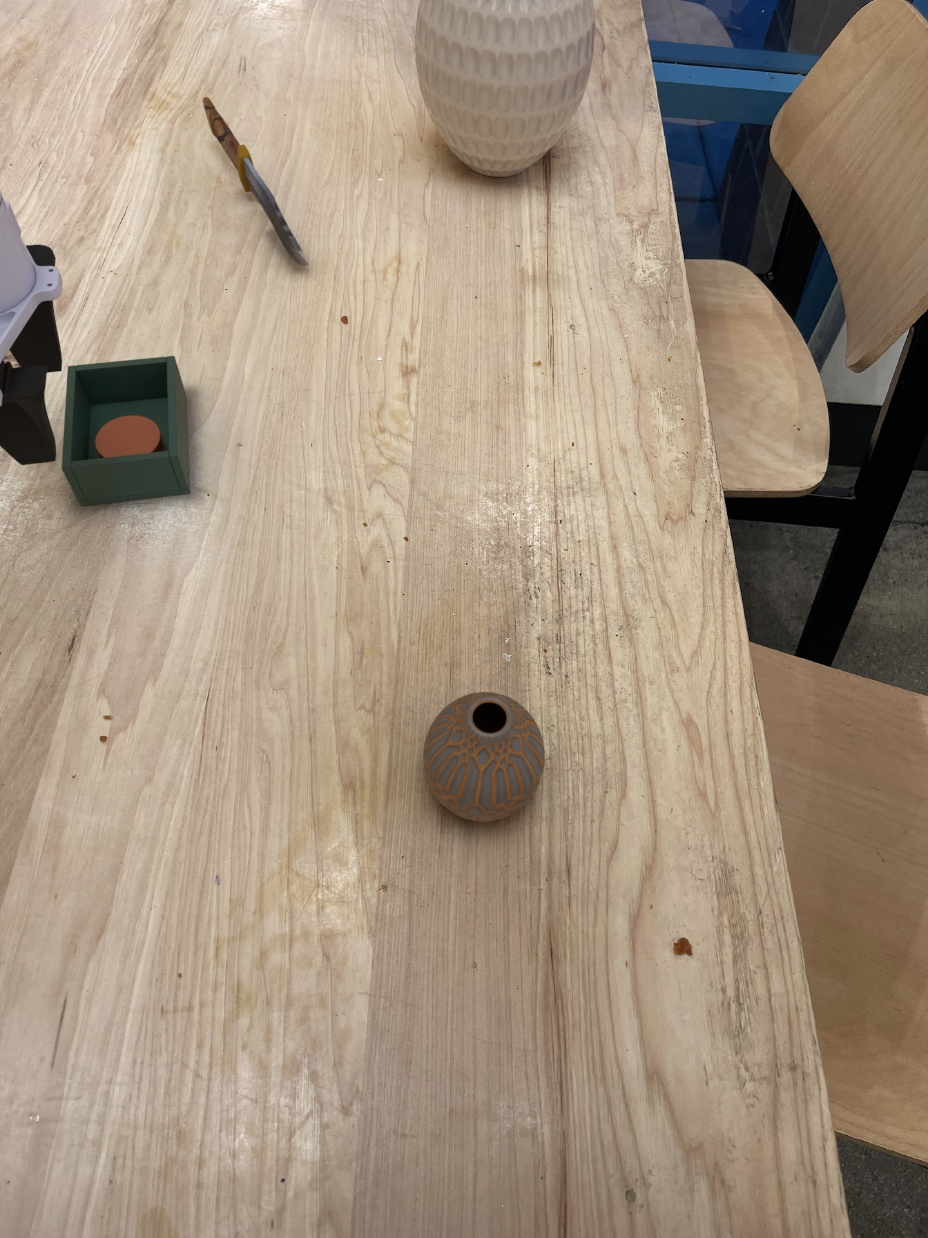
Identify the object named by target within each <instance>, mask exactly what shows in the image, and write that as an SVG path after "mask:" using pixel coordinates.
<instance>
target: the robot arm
mask: <svg viewBox="0 0 928 1238" xmlns="http://www.w3.org/2000/svg"><path fill="white" fill-rule="evenodd" d="M56 260H57V259H56V255H55V252H54V250H53V249H52V248H51V247H50V246H48V245H45V244H26V243H25V242H24V241H23V238H22V229H21V227H20V225H19V222H18V220H17V218H16V214H15V212H14V210H13V208H12V206H11V204H10V202H9V201H8V200H5V199H4V196H3V194H2V191H1V190H0V448H1V449H2V450H4V452H6V453H7V454H8V455H9V456H10V457H11V458H12V459H13V460H15V461H16V462H17V463H18V464H19V465H21V466H28V465H37V464H38V465H39V464H46V463H47V464H48V463H54V462H55V461H56V460H57V444H56V443H57V442H56V438H55V435H54V431H53V428H52V424H51V421H50V418H49V414H48V411H47V405H46V398H45V397H46V396H45V393H46V386H47V374H48V373H58V372H62V371H63V370H62V369H63V355H62V347H61V342H60V337H59V332H58V325H57V321H56V314H55V308H54V307H55V306H54V301H55V300H57V299H59V298H60V297H61V296H62V293H63V277H62V275H61V272H60V270H59V268H58V267H56ZM8 352H10V354H11V355H12V357H13V358H14V360H15V361H16V362H17V364H18V365H19V367H14V366H13V364H12V362H11V361H9V360H7V361H6V362H5V360H4V358H5V357H6V355H7V354H8Z"/></svg>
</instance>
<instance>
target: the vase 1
mask: <svg viewBox="0 0 928 1238" xmlns="http://www.w3.org/2000/svg"><path fill="white" fill-rule="evenodd" d="M595 14H596V13H595V4H594V0H419V3H418V8H417V14H416V22H415V23H416V24H415V35H414V50H415V51H414V52H415V53H414V55H415V59H414V60H415V66H416V71H417V79H418V85H419V90H420V93H421V96H422V99H423V102H424V106H425V108H426V111H427V114H428V115H429V117H430V119H431V122H432V123H433V125H434V127H435V128H436V130H437V132H438V134H439V135H440V137H441V138H442V140H443V141H444V142H445V144H446V145H447V147H448V148H449V150H450V151H451V152H452V153H453V154H454V155H455V157H457V158H458V159H459V160H460V161H461V162H462V163H463V164H465V166H467V167H468V169H470V170H472V171H473V172H475V173H478V174H480V175H484V176H487V177H493V178H494V177H495V178H505V177H510V176H514V175H517V174H520V173H522V172H523V171H525V170H527V169H528V168H530V167H531V166H532V165H533V164H535V163H536V162H538V161H539V160H541V158H543V157H544V156H545V155H546V154H547V153H548V152H549V151H550V149H551V148H552V147H553V146H554V145H555V144H556V143H557V142H558V141H559V140H560V138H561V137H562V135H563V133H565V131H566V130H567V129H568V127H569V126H570V124H571V123H572V121H573V119H574V117H575V115H576V113H577V111H578V109H579V107H580V105H581V103H582V101H583V99H584V96H585V92H586V89H587V85H588V83H589V79H590V75H591V71H592V65H593V59H594V54H595V47H596V45H595V42H596V15H595Z"/></svg>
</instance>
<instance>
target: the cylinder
mask: <svg viewBox="0 0 928 1238" xmlns="http://www.w3.org/2000/svg"><path fill="white" fill-rule="evenodd" d="M95 447H96V450H97V452H98V454H99V457H100V458H108V457H117V456H126V455H135V454H144V453H153V452H162V451H167V449H166V446H165V443H164V440H163V437H162V434H161V431H160V429H159V427H158V426H157V424H156V423H155V422H154V421H152V420H151V419H149V418H146V417H143V416H137V415H128V416H122V417H118V418H116V419H113V420H111V421H109V422H108V423H106V424H105V425H104V426H103V427H102V428H101V429H100V430H99V431H98V433H97V435H96V438H95Z"/></svg>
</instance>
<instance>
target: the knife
mask: <svg viewBox="0 0 928 1238" xmlns="http://www.w3.org/2000/svg"><path fill="white" fill-rule="evenodd" d="M202 105H203V109H204V113H205V116H206V119H207V123H208V127H209V130H210V131H211V134H212V135H213V136H214V137H215V139H216V140H217V141H218V143H219V144H220V146H221V147H222V149H223V151H224V152H225V154H226V155H227V157H228V159H229V160H230V162H231V163H232V165H233V166H234V167H235V169H236V170H237V174H238V177H239V181H240V183H241V185H242V187H243V190H244V192H245V193H246V194H247V193H252V194H253V196H254V197H255V198H256V200H257V202H258V203H259V205H260V206H261V208H262V209H263V211H264V213H265V214H266V217H267V218H268V220H269V222H270V224H271V225H272V227H273V229H274V231H275V233H276V235H277V237H278V238H279V240H280V242H281V244H282V246H283V247H284V250H285V251H286V252H287V254H288V255H289V256H290V258H291V259H292V260H293V261H294V262H295V263H296V264H298V265H299V266H303V267H304V266H305V267H306V266H307V265H308V266H309V264H310V263H309V261H308V259H307V258H306V255H305V253H304V251H303V248H302V247H301V246H300V244H299V242H298V241H297V240H296V237H295V236H294V234H293V232H292V230H291V229H290V227H289V225H288V223H287V221H286V219H285V217H284V215H283V213H282V211H281V209H280V208H279V205H278V202H277V201H276V198H275V196H274V195H273V192H272V191H271V190H270V189H269V187H268V185H267V184H266V182H265V181H264V180H263V178H262V177H261V175H260V174H259V172H258V171H257V169H256V168H255V165H254V162H253V159H252V156H251V155H252V154H250V152H249V150H248V148H247V146H246V145H245V144H240V143H239V141H238V138H237V137H236V136H235V134H234V133H233V131H232V130H231V128H230V126H229V125H228V123H227V122H226V120H225V119H224V118H223V117H222V115H221V114H220V113H219V111H218V110H217V109H216V106H215V105H214V103H213V101H212V100H211V99H210V98H209V97H208V96H205V97H203V98H202Z"/></svg>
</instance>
